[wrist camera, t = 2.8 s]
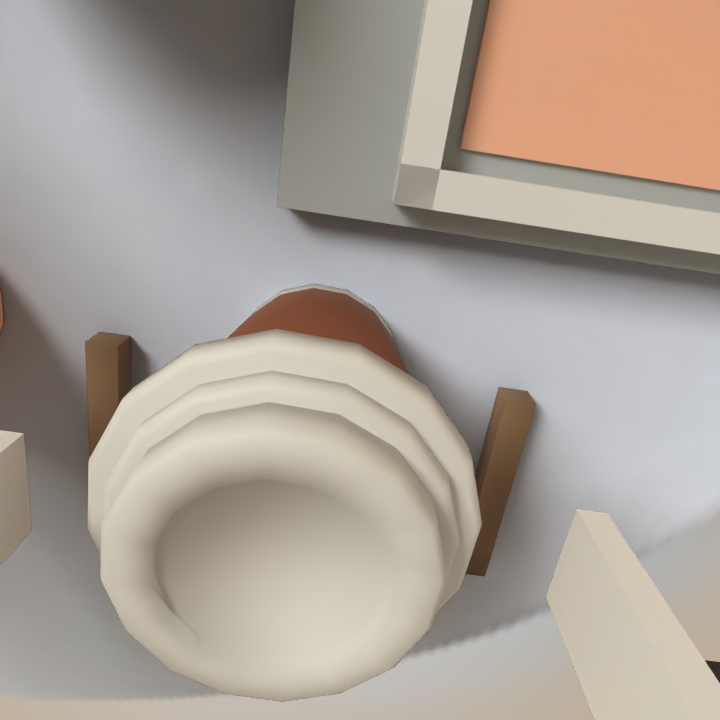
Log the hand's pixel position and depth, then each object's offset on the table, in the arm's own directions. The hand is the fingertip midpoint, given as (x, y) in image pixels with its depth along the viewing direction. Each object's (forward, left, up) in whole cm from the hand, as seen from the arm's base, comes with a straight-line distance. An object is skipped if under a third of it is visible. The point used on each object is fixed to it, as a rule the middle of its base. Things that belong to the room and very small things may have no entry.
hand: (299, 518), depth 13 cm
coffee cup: (0, 0, -10) cm, 10 cm away
